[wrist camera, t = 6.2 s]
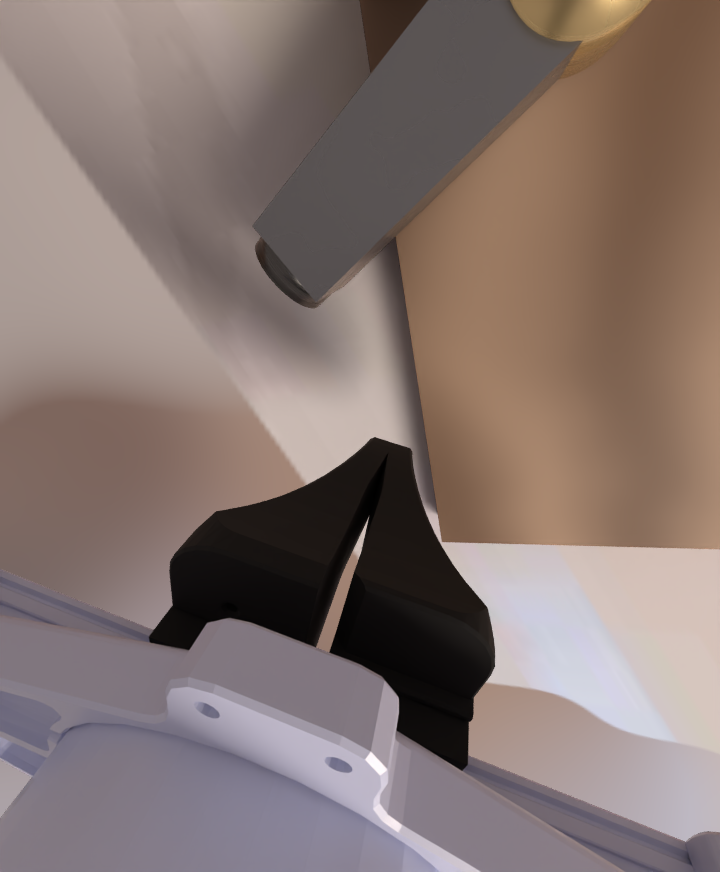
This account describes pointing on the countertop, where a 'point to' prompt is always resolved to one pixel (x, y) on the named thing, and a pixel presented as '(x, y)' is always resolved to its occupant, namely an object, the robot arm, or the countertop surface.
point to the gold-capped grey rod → (423, 128)
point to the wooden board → (578, 301)
